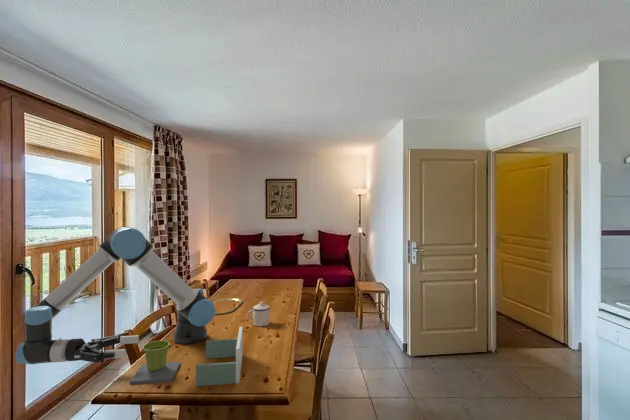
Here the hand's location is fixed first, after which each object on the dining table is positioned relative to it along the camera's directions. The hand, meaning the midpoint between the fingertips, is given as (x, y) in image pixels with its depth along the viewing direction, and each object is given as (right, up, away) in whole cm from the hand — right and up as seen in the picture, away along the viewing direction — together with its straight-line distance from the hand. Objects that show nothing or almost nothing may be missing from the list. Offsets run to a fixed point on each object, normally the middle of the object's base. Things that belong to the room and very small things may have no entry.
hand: (132, 345), depth 130 cm
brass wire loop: (+10, -12, +93) cm, 94 cm away
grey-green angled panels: (+32, -11, +5) cm, 34 cm away
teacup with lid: (+37, -11, +59) cm, 71 cm away
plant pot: (+7, -10, +4) cm, 13 cm away
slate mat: (+9, -11, +1) cm, 14 cm away
